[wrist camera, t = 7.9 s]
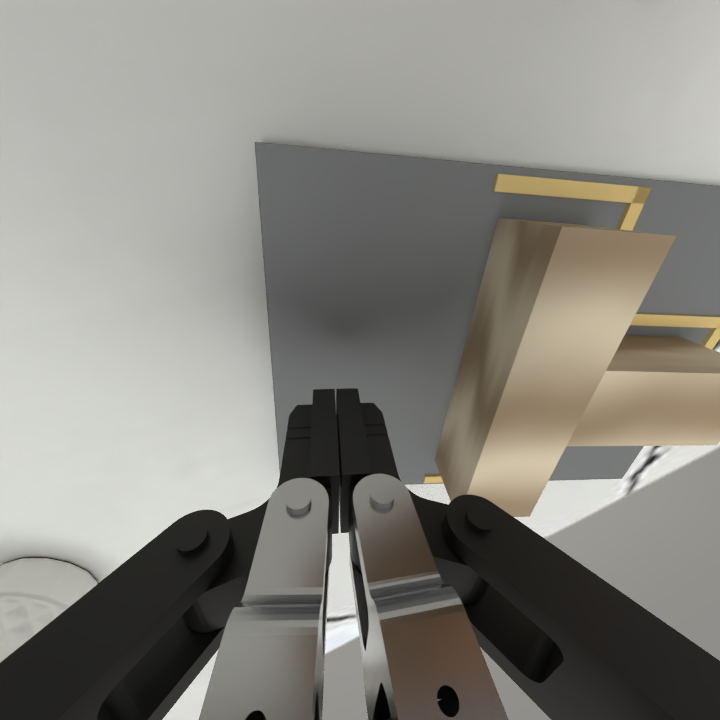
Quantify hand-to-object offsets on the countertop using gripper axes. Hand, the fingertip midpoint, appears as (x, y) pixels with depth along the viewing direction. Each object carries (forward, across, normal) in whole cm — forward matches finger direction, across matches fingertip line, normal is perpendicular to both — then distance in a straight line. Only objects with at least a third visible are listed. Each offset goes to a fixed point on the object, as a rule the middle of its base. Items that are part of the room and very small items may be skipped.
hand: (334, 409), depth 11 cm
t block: (+5, -13, +1) cm, 14 cm away
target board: (+6, -9, +1) cm, 11 cm away
